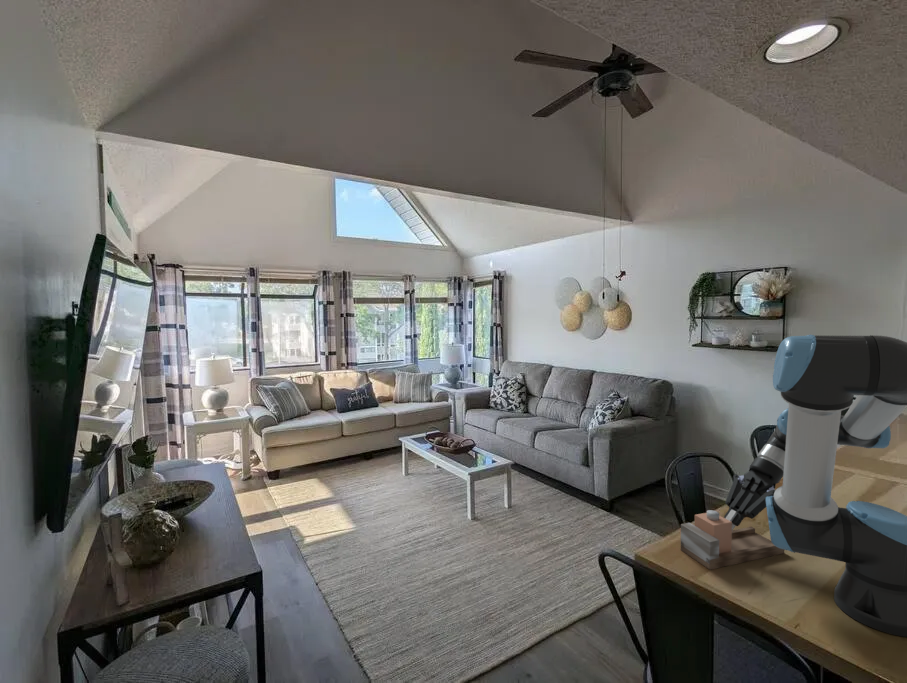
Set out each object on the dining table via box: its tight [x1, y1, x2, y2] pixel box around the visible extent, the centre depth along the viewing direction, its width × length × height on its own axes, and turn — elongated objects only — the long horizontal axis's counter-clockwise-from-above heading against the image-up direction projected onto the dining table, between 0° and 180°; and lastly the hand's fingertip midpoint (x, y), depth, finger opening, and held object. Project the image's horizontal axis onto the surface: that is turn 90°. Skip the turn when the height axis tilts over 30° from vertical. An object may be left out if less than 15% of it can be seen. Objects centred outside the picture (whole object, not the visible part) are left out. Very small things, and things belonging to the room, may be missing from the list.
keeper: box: [694, 509, 732, 554], centre depth 120 cm, size 6×6×11 cm
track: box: [680, 522, 785, 570], centre depth 122 cm, size 25×10×8 cm, turn 105°
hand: (723, 531), depth 122 cm, fingers closed
